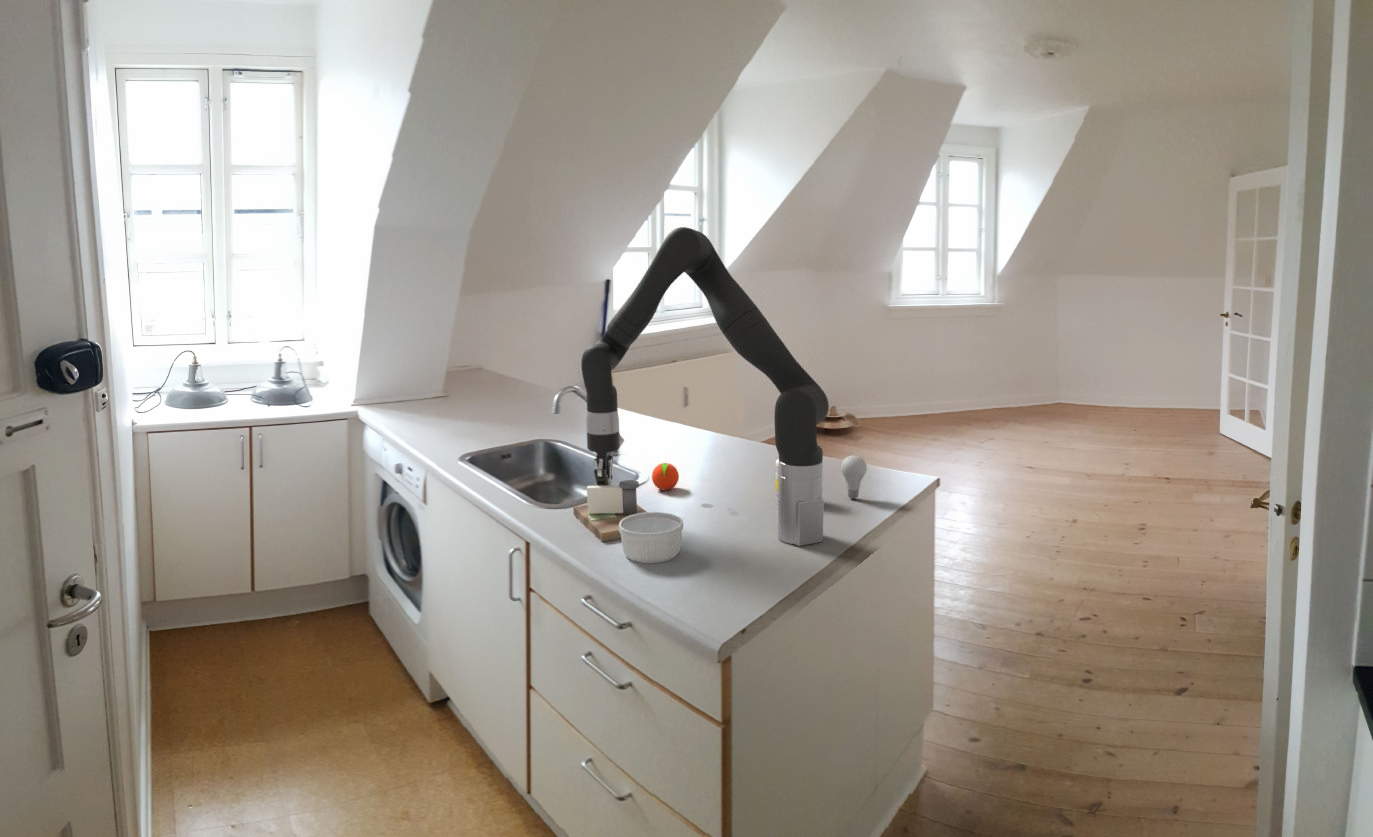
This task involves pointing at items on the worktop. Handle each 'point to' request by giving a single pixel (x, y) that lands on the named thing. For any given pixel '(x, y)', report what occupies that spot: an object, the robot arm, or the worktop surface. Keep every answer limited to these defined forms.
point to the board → (602, 522)
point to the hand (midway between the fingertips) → (605, 500)
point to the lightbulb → (853, 474)
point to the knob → (613, 498)
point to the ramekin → (651, 536)
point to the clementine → (665, 476)
